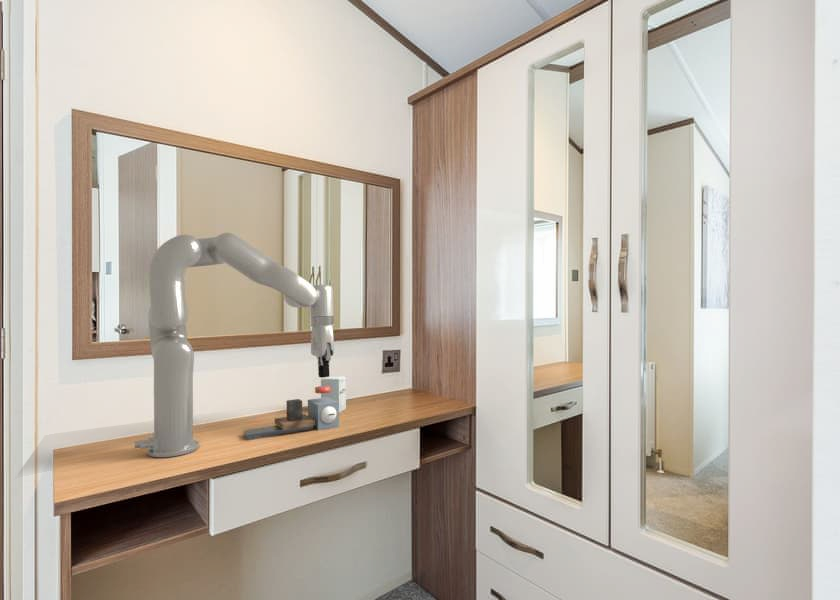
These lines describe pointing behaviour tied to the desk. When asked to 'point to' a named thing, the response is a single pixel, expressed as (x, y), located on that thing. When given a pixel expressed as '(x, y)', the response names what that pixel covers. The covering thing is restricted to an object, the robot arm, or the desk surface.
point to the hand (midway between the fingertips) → (324, 376)
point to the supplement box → (336, 390)
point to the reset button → (322, 389)
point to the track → (271, 432)
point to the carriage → (294, 416)
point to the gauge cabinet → (324, 413)
